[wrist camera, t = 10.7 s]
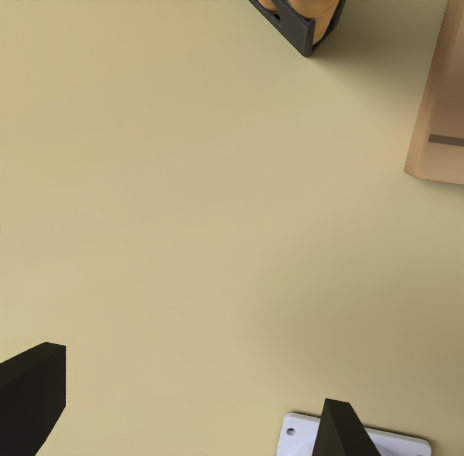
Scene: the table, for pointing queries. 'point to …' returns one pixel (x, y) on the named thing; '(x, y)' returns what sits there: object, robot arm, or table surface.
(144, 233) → the table surface
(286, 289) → the table surface
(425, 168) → the board
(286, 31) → the ammunition clip
